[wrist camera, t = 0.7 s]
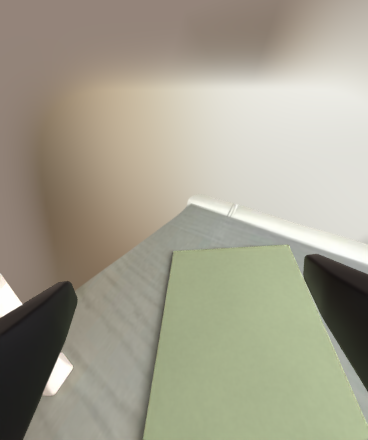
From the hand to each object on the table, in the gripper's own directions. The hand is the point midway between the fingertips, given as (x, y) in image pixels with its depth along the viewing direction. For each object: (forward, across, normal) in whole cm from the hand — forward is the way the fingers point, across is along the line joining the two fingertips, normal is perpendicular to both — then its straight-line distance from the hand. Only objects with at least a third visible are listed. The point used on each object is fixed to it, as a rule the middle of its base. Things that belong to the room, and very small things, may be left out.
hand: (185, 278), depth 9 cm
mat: (+11, -3, +14) cm, 18 cm away
